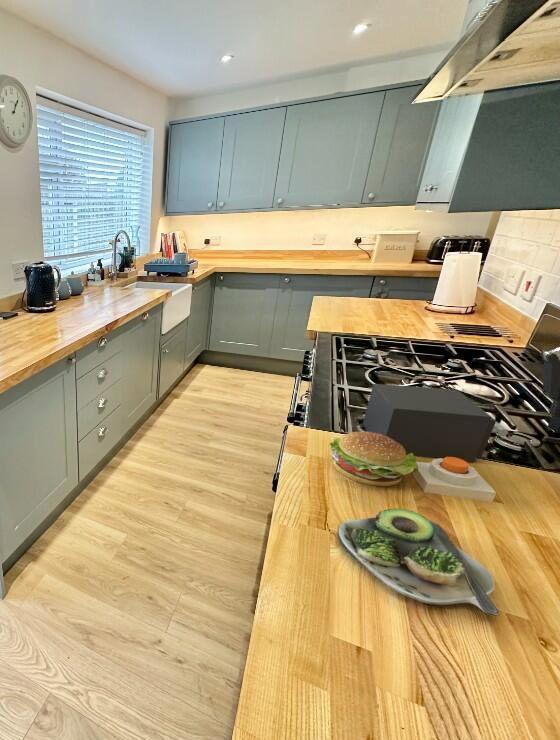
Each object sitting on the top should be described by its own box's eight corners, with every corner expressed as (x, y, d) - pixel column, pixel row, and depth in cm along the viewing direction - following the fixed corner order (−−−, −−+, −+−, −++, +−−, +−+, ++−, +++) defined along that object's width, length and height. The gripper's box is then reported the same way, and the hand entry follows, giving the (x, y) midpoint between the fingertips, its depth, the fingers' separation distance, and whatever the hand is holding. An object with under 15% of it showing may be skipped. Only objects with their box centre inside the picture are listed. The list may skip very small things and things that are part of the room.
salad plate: (547, 616, 55) (562, 591, 54) (422, 633, 54) (433, 608, 53) (416, 519, 73) (423, 497, 72) (320, 530, 72) (325, 508, 70)
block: (469, 477, 83) (476, 460, 81) (492, 502, 76) (500, 484, 75) (408, 469, 86) (413, 453, 85) (424, 492, 80) (430, 475, 78)
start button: (460, 465, 81) (463, 458, 80) (470, 476, 78) (473, 468, 77) (437, 463, 82) (440, 455, 81) (445, 473, 79) (448, 465, 78)
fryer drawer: (475, 432, 96) (488, 397, 93) (508, 462, 85) (524, 423, 82) (376, 422, 103) (385, 389, 99) (395, 448, 92) (406, 412, 88)
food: (335, 486, 83) (344, 452, 80) (321, 450, 95) (328, 419, 92) (421, 499, 78) (434, 463, 75) (394, 459, 90) (404, 426, 87)
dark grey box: (442, 431, 99) (457, 389, 95) (473, 463, 87) (492, 416, 83) (362, 423, 105) (373, 383, 100) (381, 452, 93) (394, 408, 88)
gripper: (571, 321, 76) (525, 435, 84) (676, 323, 71) (616, 443, 80) (544, 312, 82) (504, 419, 91) (638, 313, 78) (586, 425, 86)
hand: (556, 430), depth 85 cm, fingers closed
